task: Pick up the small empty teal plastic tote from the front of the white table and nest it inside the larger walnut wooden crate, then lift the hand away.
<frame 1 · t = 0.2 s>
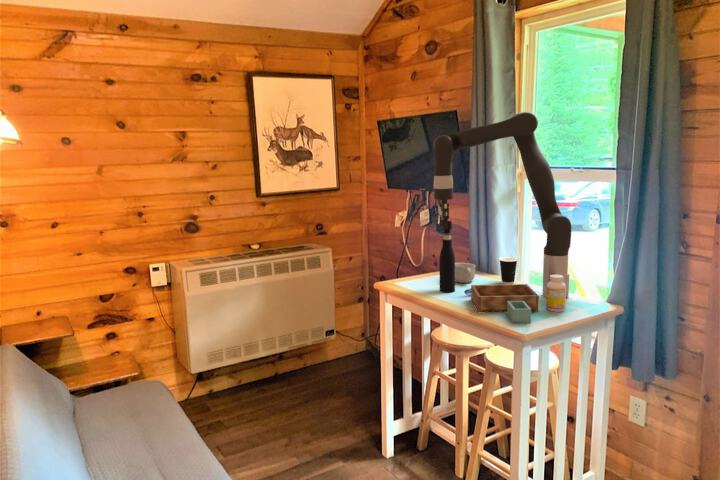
hand: (443, 227, 214), 29 cm above the table, tool pointing down, fingers open, 8 cm apart
supplement bottle: (555, 310, 200), on the table
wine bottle: (447, 291, 230), on the table
teacup: (463, 282, 243), on the table
walnut crate: (503, 305, 207), on the table
teal tote: (518, 318, 191), on the table
dixie cup: (507, 283, 239), on the table
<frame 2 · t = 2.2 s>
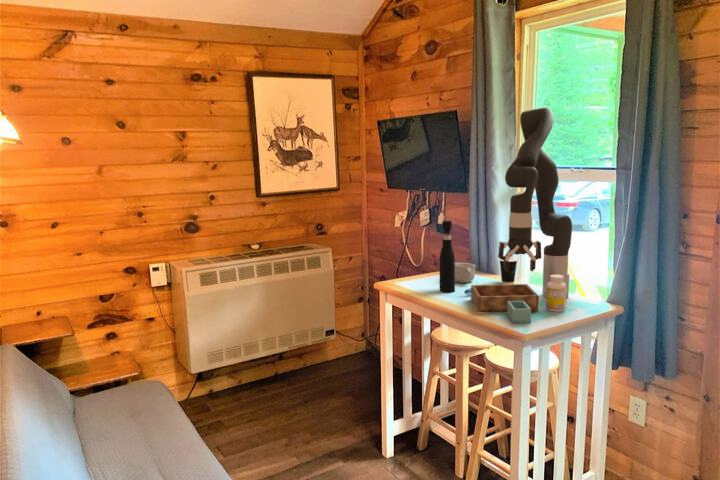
hand: (519, 270, 188), 17 cm above the table, tool pointing down, fingers open, 8 cm apart
nothing on the table moved.
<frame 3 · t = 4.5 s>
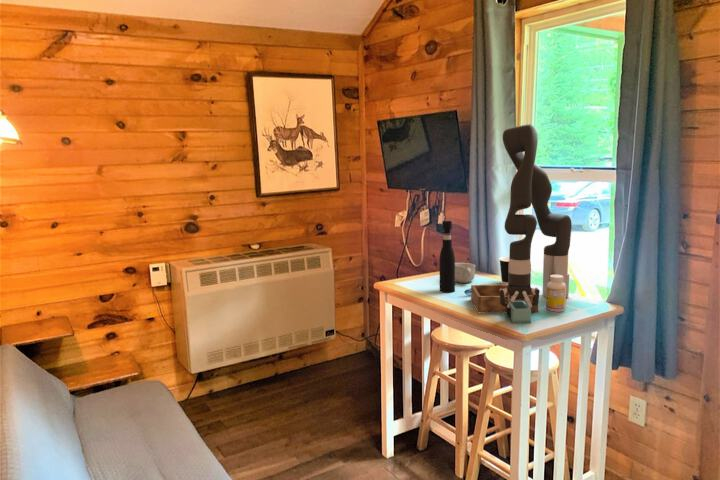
hand: (518, 316, 191), 1 cm above the table, tool pointing down, fingers closed on teal tote, 6 cm apart
teal tote: (518, 318, 191), on the table, touching gripper
everything else where it was.
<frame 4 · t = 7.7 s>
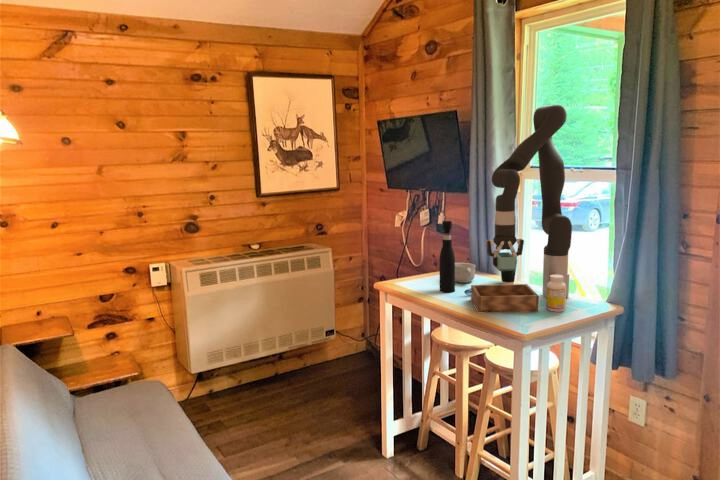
hand: (504, 266, 204), 15 cm above the table, tool pointing down, fingers closed on teal tote, 6 cm apart
teal tote: (504, 267, 204), point 15 cm above the table, touching gripper
everything else where it was.
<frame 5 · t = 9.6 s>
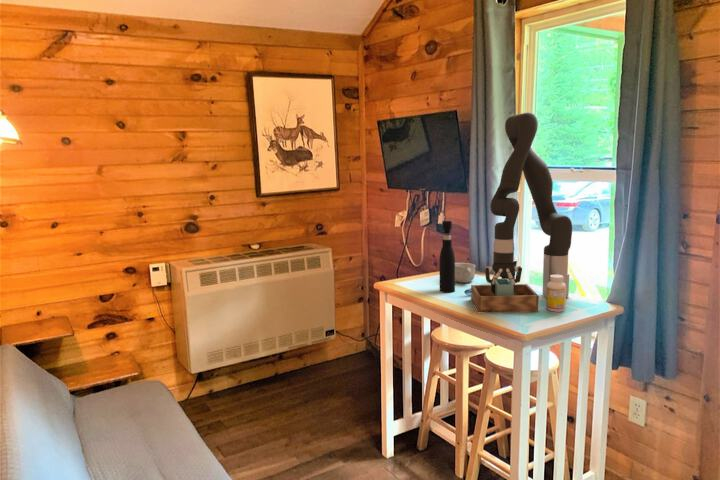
hand: (502, 292, 206), 5 cm above the table, tool pointing down, fingers closed on teal tote, 6 cm apart
teal tote: (502, 294, 207), point 4 cm above the table, touching gripper
everything else where it was.
when the fingers open (3 cm above the table, at t = 11.0 s): teal tote drops 1 cm, resting on walnut crate.
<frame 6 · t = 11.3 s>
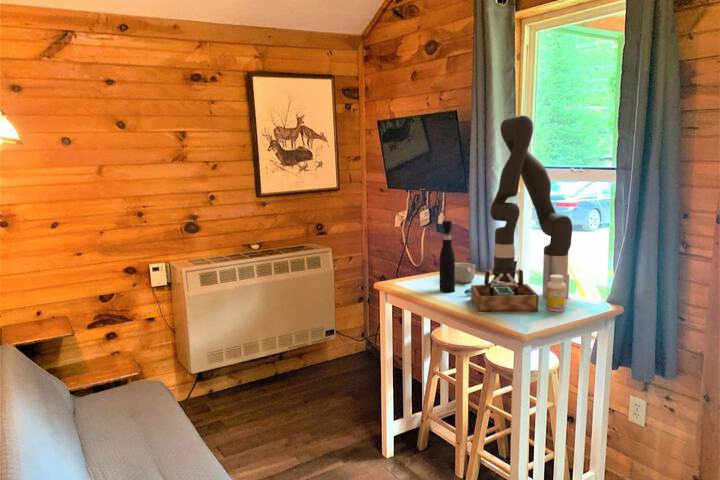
hand: (503, 296, 206), 4 cm above the table, tool pointing down, fingers open, 8 cm apart
teal tote: (503, 302, 207), point 1 cm above the table, touching walnut crate
everything else where it was.
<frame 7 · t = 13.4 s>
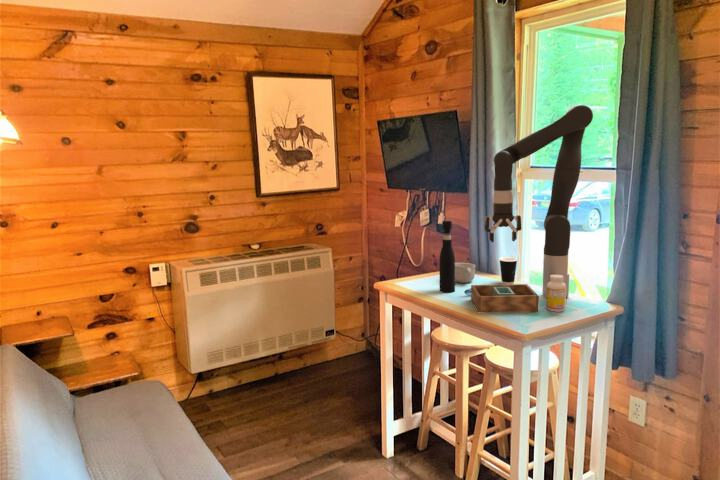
hand: (502, 241, 218), 22 cm above the table, tool pointing down, fingers open, 8 cm apart
nothing on the table moved.
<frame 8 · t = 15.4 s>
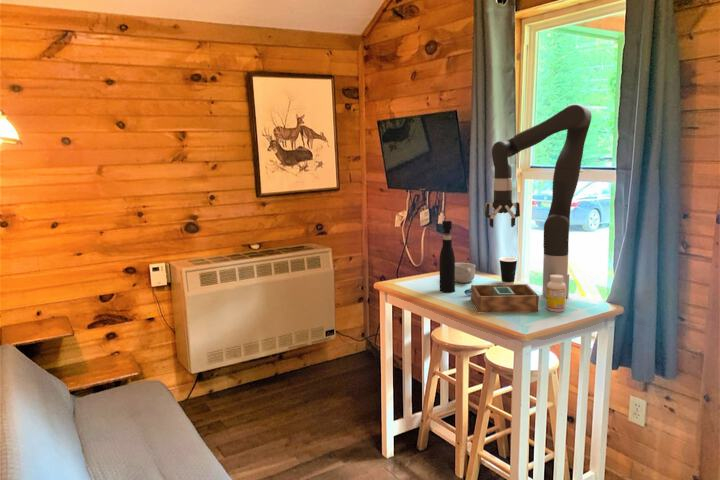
hand: (502, 227, 230), 26 cm above the table, tool pointing down, fingers open, 8 cm apart
nothing on the table moved.
at the end: teal tote inside the target area on the walnut crate (0.1 cm from its centre), point 1.0 cm above the walnut crate's base; teal tote tilted 0°; the gripper is holding nothing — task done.
